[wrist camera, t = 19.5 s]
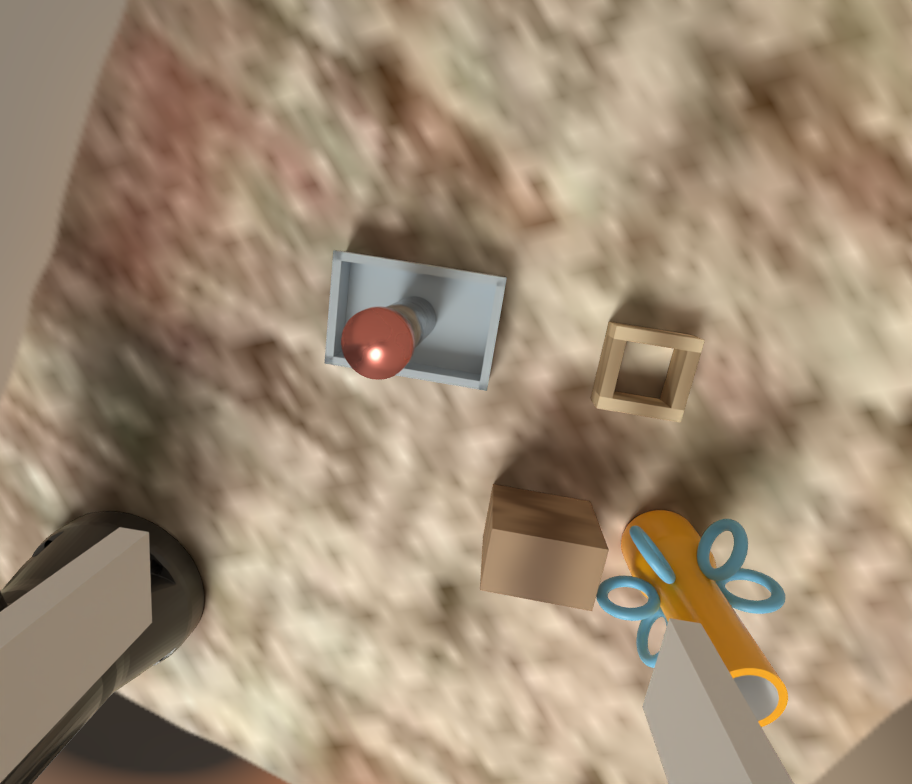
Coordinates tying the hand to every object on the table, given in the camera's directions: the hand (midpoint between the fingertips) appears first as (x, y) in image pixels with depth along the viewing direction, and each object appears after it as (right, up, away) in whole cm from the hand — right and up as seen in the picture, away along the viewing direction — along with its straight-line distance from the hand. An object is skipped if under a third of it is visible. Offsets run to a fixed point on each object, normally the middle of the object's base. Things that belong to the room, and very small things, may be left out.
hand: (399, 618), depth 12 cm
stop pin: (-2, +11, +24) cm, 26 cm away
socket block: (+15, +8, +24) cm, 29 cm away
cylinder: (+18, -7, +28) cm, 34 cm away
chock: (+8, -5, +28) cm, 30 cm away
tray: (-1, +11, +25) cm, 27 cm away
